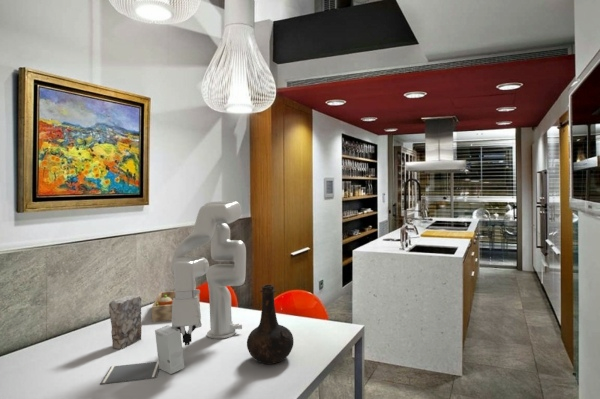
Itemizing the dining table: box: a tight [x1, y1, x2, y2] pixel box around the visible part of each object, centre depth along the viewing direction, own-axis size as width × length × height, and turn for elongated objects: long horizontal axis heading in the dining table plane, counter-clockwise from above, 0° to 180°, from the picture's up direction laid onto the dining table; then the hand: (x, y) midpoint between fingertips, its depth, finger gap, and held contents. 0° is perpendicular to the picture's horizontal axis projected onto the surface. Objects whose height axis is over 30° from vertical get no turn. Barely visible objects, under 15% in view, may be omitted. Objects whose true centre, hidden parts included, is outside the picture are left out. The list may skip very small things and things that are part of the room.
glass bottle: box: [246, 284, 295, 365], centre depth 156 cm, size 18×18×28 cm
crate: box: [151, 288, 200, 323], centre depth 227 cm, size 22×32×8 cm
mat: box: [100, 360, 160, 385], centre depth 148 cm, size 18×14×1 cm
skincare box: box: [154, 324, 185, 375], centre depth 149 cm, size 8×6×15 cm
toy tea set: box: [156, 295, 173, 306], centre depth 227 cm, size 26×16×10 cm, turn 171°
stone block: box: [108, 294, 143, 350], centre depth 178 cm, size 13×7×20 cm, turn 165°
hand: (187, 343), depth 151 cm, fingers closed
